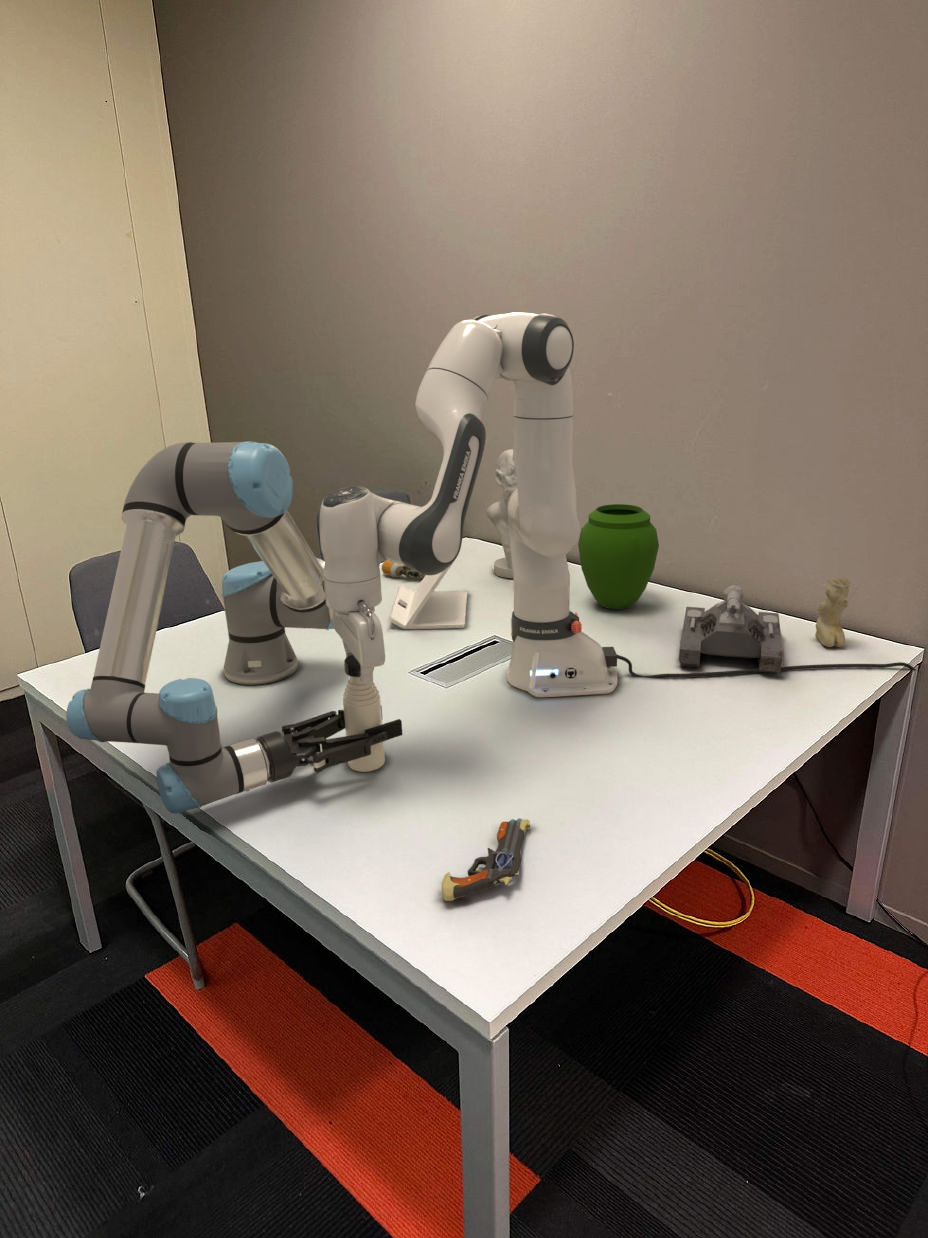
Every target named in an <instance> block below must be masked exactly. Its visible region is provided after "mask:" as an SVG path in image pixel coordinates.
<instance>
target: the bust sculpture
mask: <svg viewBox="0 0 928 1238" xmlns="http://www.w3.org/2000/svg"><path fill="white" fill-rule="evenodd" d="M494 480H495V482H496V484H497V486H498V487H501V488H502V494H501V497H500V499H499V501H496V502H494V503H492V504H491V505H490V506H488V508H487V509H486V513H485V514H486V517H487V518H488V519H489V520H490V522H491V523H492V524H493V526H494V527H495V529H496V532H497V534H498V537H499V540H500V542H501V546H502V548H503V553H504V557H502V558H498V559H496V560H495V561H494V562H493V573H494V574H495V575H496V576H497V577H500V578H506V579H513V567H512V559H511V550H510V539H509V526H508V512H507V506H508V501H509V498H510V496H511V494H512V493H513V492H514V491H515V490H516V489H517V480H516V472H515V465H514V460H513V448H512V449H506V450H504V451H502V452H501V454H500V455H499V457H498V459H497V461H496V468H495V471H494Z"/></svg>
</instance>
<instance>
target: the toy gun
mask: <svg viewBox="0 0 928 1238" xmlns="http://www.w3.org/2000/svg"><path fill="white" fill-rule="evenodd" d="M529 829H531V822H530V820H529V819H528V818H527V819H525V818H524V819H522V818H517V819H515V818H512V819H510V820H509V821H501V822H500V825H499V828H498V830H497V833H496V839H497V840H496V841H497V842H498V845H497V848H496V850H494V849H492V848H490V847H487V854H488V855H487V856H479V857H476V858H475V859H474V861H473V863H472V865H471V866H470V868H468V870H467V876H465V877H457V876H453V875H451V873H450V871H448V872H447V873H445V875H444V876H443V878H442V881H441V894H442V899H443V900H444V901H446V902H451V901H454V900H456V899H458V898H463V897H464V898H465V897H467V896H470V895H472V894H476V893H478V892H481V891H485V890H489V889H490V888H494V887H495V886H497V885H499V884H501V883H504V886H508V885H509V884H510V882H511V881H512V880H513V877H515V876H519V875H520V869H521V865H522V853H521V851H522V847H523V842H524V838H525V836H526V832H527V830H529ZM481 865H483V866H484V868H483V869H479V866H481ZM495 866H496V868H495Z"/></svg>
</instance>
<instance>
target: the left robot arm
mask: <svg viewBox="0 0 928 1238" xmlns="http://www.w3.org/2000/svg"><path fill="white" fill-rule="evenodd" d="M293 492H294V482H293V477H292V476H291V468H290V464H289V462H288V460H287V459H286V457H285V455H284V454H283V453H282V451H280V449H279V448H277V447H276V446H274V445H272V444H271V443H266V442H256V441H251V440H250V441H249V440H248V441H238V442H237V441H233V442H232V441H228V442H226V441H224V442H223V441H222V442H219V441H218V442H191V441H185V442H183V441H182V442H177V443H174V444H171V445H168V446H167V447H164V448H163V449H161V450H160V451H158V452H156V453H155V454H154V455H153V456H152V457H151V458H150V459H149V460H148V461H147V462H146V463H145V464H144V465H143V467H141V469H140V470H139V472H138V473H137V475H136V476H135V478H134V480H133V482H132V484H131V485H130V487H129V490H128V491H127V494H126V497H125V499H124V504H123V508H122V512H121V515H120V516H121V520H122V521H123V523H124V524H125V529H124V530H125V531H124V536H123V539H122V545H121V549H120V553H119V558H118V563H117V567H116V572H115V576H114V581H113V586H112V590H111V594H110V599H109V604H108V609H107V613H106V617H105V621H104V627H103V630H102V631H103V632H102V636H101V640H100V645H99V649H98V654H97V660H96V662H95V663H96V664H95V668H94V672H93V677H92V681H91V684H90V688H86V689H79V690H78V691H76V692H75V693H74V694H73V695H72V699H71V700H70V701H69V702H68V703H67V704H68V705H67V707H66V716H65V717H66V724H67V727H68V730H69V731H70V733H71V734H72V735H73V736H74V737H77V739H82V740H89V741H97V742H99V743H108V742H113V743H127V744H141V745H142V744H143V745H155V746H166V748H167V751H168V758H169V762H166V763H165V764H163V765H160V766H159V767H158V768H157V769H156V772H155V773H156V784H157V788H158V793H159V796H160V798H161V801H162V803H163V805H164V807H165V809H166V810H167V811H168V812H169V813H171V814H180V813H183V812H187V811H191V810H194V809H201V808H202V807H204V806H206V805H209V804H212V803H215V802H217V801H220V800H223V799H226V798H229V797H232V796H234V795H238V794H241V793H243V792H249V791H250V790H253V789H256V788H259V787H262V786H266V784H267V783H275V782H278V781H281V780H284V779H287V778H289V777H291V776H292V775H293V772H294V771H295V769H296V768H297V767H306V766H308V765H309V766H311V767H313V772H314V773H320V772H322V771H324V770H327V769H328V768H331V767H334V766H338V765H341V764H344V763H348V761H352V760H355V759H358V758H362V757H365V756H369V755H371V746H372V745H375V744H378V743H381V742H383V743H384V742H386V741H388V740H392V739H394V738H397V737H400V736H403V722H402V719H400V718H398V719H395V720H391V721H388V722H385V723H382V725H379V726H376V727H373V728H370V729H366V730H365V733H364V734H357V735H351V736H346V735H344V736H338V737H332V736H333V735H336V734H337V733H339V732H341V731H343V730H345V720H344V709H338V710H337V711H336V710H330V711H328V712H325V713H323V714H319V715H316V716H313V717H310V718H307V719H305V720H302V721H299V722H296V723H291V724H286V725H282V726H281V731H277V730H276V731H272V732H268V733H265V734H262V735H259V736H257V737H256V739H254V738H248V739H245V740H242V741H239V742H236V743H233V744H229V745H226V746H222V742H221V733H220V727H219V720H218V719H219V718H218V706H217V705H216V700H215V696H214V692H213V688H212V686H211V684H210V683H209V682H208V681H206V680H204V679H202V678H196V677H187V678H185V679H181V678H179V679H175V680H173V681H170V682H168V683H166V684H164V685H163V686H162V687H161V688H160V690H159V692H145V690H146V684H147V678H148V674H149V669H150V664H151V660H152V654H153V650H154V644H155V639H156V635H157V629H158V625H159V620H160V616H161V611H162V605H163V600H164V596H165V591H166V586H167V583H168V582H167V581H168V576H169V571H170V567H171V562H172V557H173V553H174V548H175V542H176V537H178V536H179V535H181V534H183V533H184V531H185V527H186V522H187V519H189V517H190V516H208V517H209V516H210V517H219V518H220V519H221V520H222V522H223V523H224V525H225V526H226V527H227V528H228V529H229V530H230V531H232V532H233V533H236V534H237V535H241V536H244V537H245V538H246V539H247V541H248V542H249V544H250V545H251V546H252V548H253V549H254V551H255V552H256V554H257V555H258V557H259V558H260V559H261V560H260V561H254V562H248V563H245V564H241V565H238V566H235V567H233V568H231V569H230V570H228V571H227V572H225V573H224V574H223V576H222V579H221V588H222V589H221V591H222V593H221V597H222V600H223V607H224V613H225V621H226V627H227V634H228V643H227V648H226V654H225V657H224V663H223V672H224V677H225V679H226V680H228V681H230V682H232V683H234V684H239V685H245V686H247V685H249V686H255V685H256V686H257V685H258V686H259V685H265V684H272V683H275V682H278V681H281V680H284V679H287V678H289V677H290V676H292V675H293V674H294V673H295V672H297V670H298V667H299V665H298V657H297V655H296V653H295V650H294V648H293V646H292V644H291V642H290V640H289V637H288V636H287V633H286V628H289V629H291V628H293V629H312V630H313V629H315V630H316V629H317V630H326V631H329V630H335V629H334V628H333V626H332V623H331V619H330V614H329V608H328V606H327V605H326V599H325V593H324V591H323V588H322V579H323V578H324V576H323V573H324V568H325V560H323V559H321V558H318V557H316V556H315V554H314V552H313V550H312V549H311V547H310V545H309V544H308V542H307V541H306V539H305V537H304V535H303V534H302V532H301V530H300V528H299V527H298V526H297V524H296V522H295V520H294V518H293V517H292V515H291V513H290V511H289V510H288V509H289V508H290V506H291V503H292V500H293ZM382 707H383V706H382V705H381V714H382V715H383V708H382ZM382 721H383V718H382ZM330 737H332V738H330Z"/></svg>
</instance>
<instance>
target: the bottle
mask: <svg viewBox="0 0 928 1238" xmlns="http://www.w3.org/2000/svg"><path fill="white" fill-rule="evenodd" d="M348 677H349V679H348V681H347V684H346V686H345V687H346V688H345V689H344V692H343V694H342V696H343V697H342V706H343V707H342V708H343V710H344V720H345V729H344V732H345V736H351V735H357V734H364V733H365V730H366V729H370V728H373V727H376V726H379V725H382V724H383V720H382V719H383V713H382V714H381V706H382V703H381V702H382V701H381V695H380V691H379V689H378V687H377V686H376V685H375V682H374V681H373V682H372V683H370V684H363V683H362V682H361V680H360V677H352V676H348ZM385 762H386V757H385V745H384V742H381V743H378V744H375V745H372V746H371V755H369V756H365V757H362V758H358V759H355V760H352V761H348V762H347V764H348V767H349V768H350V769H351V770H353V771H356V772H360V773H361V772H362V773H366V772H367V773H368V772H372V771H376V770H378V769H380V768H382V767H383V766H384V764H385Z"/></svg>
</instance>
